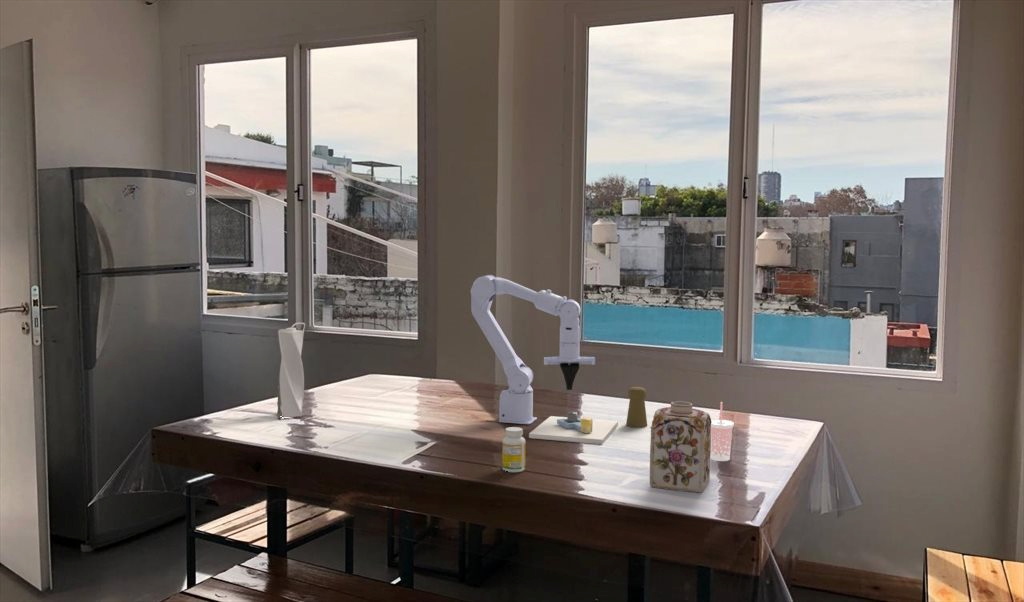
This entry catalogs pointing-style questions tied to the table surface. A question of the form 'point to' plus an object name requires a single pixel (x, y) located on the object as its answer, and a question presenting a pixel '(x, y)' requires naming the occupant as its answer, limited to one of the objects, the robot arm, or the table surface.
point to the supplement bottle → (513, 450)
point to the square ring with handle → (577, 424)
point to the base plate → (574, 431)
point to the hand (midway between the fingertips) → (569, 389)
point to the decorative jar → (680, 448)
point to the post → (572, 417)
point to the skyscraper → (291, 373)
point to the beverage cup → (721, 438)
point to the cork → (636, 408)
